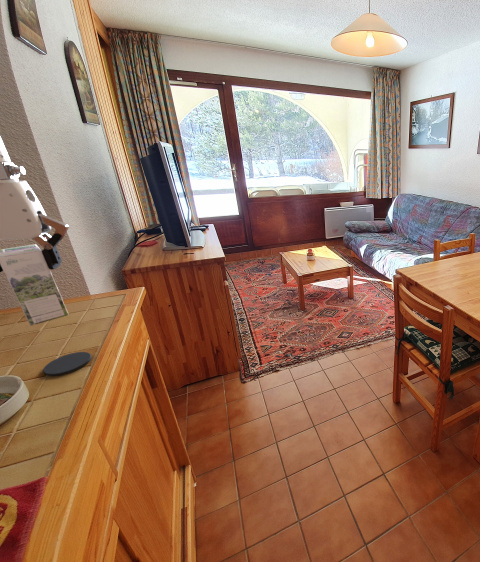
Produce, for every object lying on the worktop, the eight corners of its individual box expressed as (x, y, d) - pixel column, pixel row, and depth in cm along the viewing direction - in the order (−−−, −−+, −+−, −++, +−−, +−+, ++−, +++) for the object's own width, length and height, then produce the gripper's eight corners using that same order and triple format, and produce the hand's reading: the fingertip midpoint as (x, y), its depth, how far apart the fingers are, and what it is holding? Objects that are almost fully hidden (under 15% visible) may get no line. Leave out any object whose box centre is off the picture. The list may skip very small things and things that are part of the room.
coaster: (36, 380, 63) (35, 377, 62) (53, 358, 69) (52, 356, 69) (84, 370, 66) (83, 368, 65) (96, 350, 72) (95, 348, 72)
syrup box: (64, 307, 67) (36, 242, 61) (70, 315, 64) (41, 248, 58) (26, 317, 63) (-8, 249, 57) (30, 327, 60) (-5, 255, 54)
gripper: (59, 171, 59) (91, 258, 66) (-75, 172, 52) (-24, 269, 59) (40, 174, 53) (77, 270, 60) (-115, 176, 46) (-53, 284, 53)
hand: (27, 269), depth 59 cm, fingers closed on syrup box, 7 cm apart
